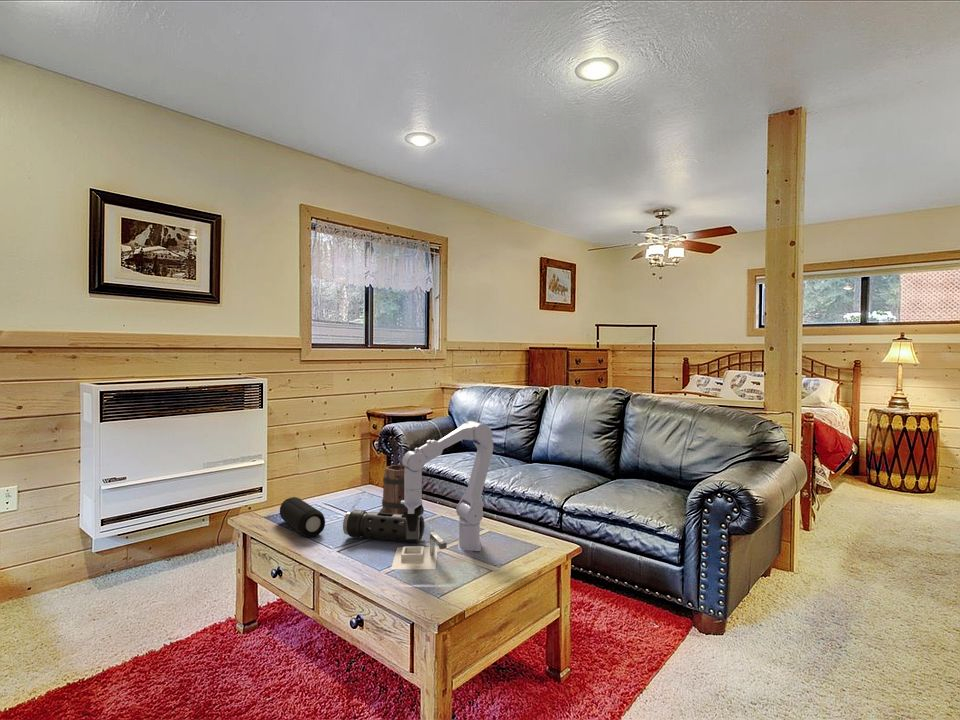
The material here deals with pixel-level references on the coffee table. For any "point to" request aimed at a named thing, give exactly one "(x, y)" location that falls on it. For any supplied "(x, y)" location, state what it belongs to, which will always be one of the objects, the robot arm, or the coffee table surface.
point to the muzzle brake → (378, 526)
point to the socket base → (414, 558)
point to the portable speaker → (302, 517)
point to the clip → (436, 539)
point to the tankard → (394, 490)
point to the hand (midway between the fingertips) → (412, 528)
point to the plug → (411, 533)
